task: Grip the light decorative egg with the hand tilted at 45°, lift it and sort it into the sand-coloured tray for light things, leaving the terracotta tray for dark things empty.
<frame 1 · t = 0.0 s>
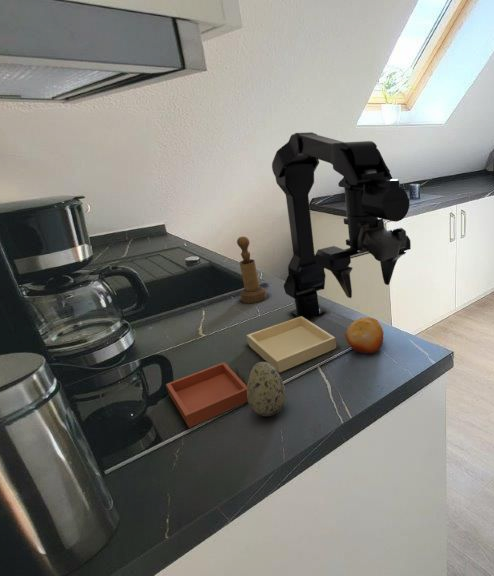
hand: (368, 290, 81), 15 cm above the counter, tool pointing down, fingers open, 9 cm apart
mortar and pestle: (254, 299, 115), on the counter
fruit: (366, 349, 88), on the counter
terracotta tray: (210, 397, 73), on the counter
sand tray: (292, 346, 90), on the counter
decorative egg: (270, 413, 69), on the counter
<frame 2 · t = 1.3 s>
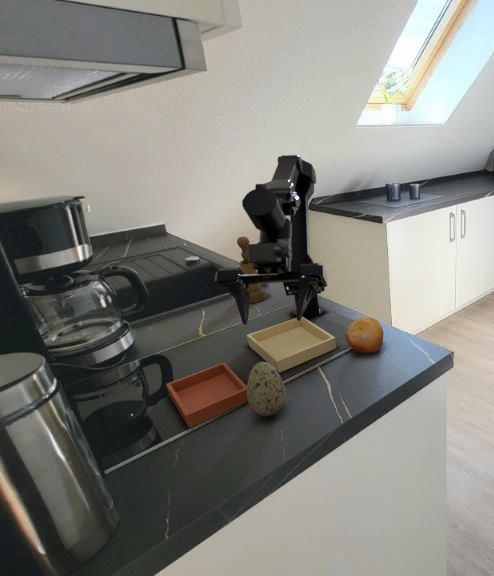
hand: (271, 322, 72), 13 cm above the counter, tool tilted 45°, fingers open, 9 cm apart
nothing on the counter moved.
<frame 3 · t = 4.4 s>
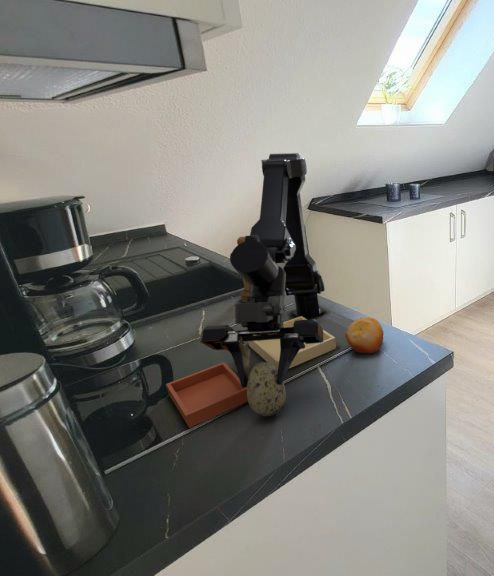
hand: (261, 385, 66), 7 cm above the counter, tool tilted 45°, fingers closed on decorative egg, 5 cm apart
decorative egg: (270, 413, 69), on the counter, touching gripper
everything else where it was.
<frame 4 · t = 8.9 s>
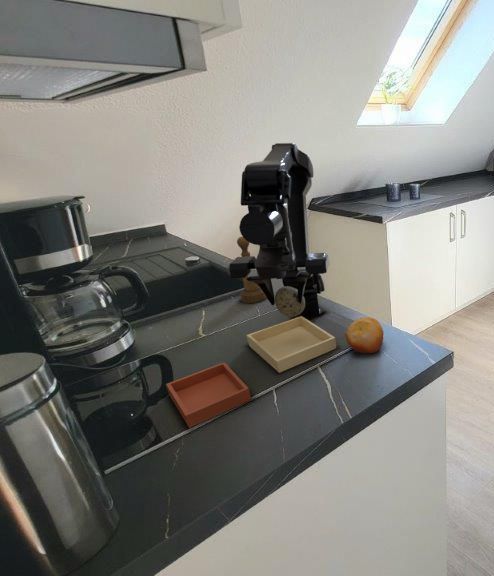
hand: (286, 303, 85), 11 cm above the counter, tool pointing down, fingers closed on decorative egg, 5 cm apart
decorative egg: (295, 309, 91), point 7 cm above the counter, touching gripper
everything else where it was.
when the fingers open (6 cm above the counter, at t = 11.0 s): decorative egg moves 4 cm, resting on sand tray.
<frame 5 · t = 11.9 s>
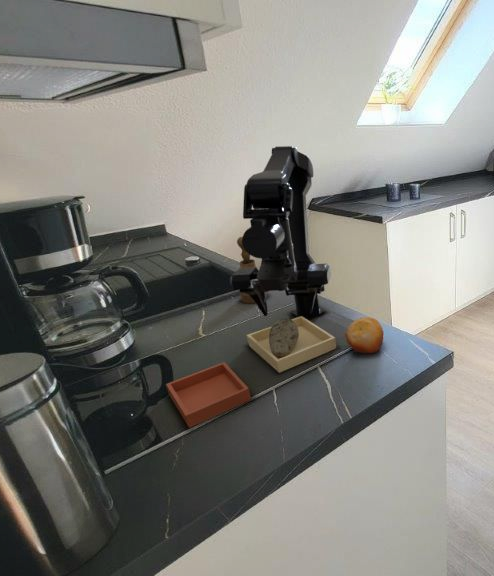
hand: (288, 313, 86), 9 cm above the counter, tool pointing down, fingers open, 9 cm apart
decorative egg: (286, 321, 90), point 5 cm above the counter, touching sand tray
everything else where it was.
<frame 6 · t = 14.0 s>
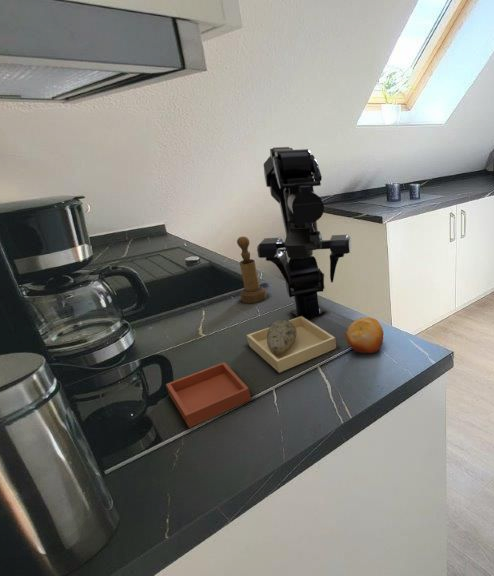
hand: (311, 283, 90), 13 cm above the counter, tool pointing down, fingers open, 9 cm apart
decorative egg: (285, 324, 91), point 4 cm above the counter, touching sand tray
everything else where it was.
at the end: decorative egg inside the target area on the sand tray (3.9 cm from its centre), point 3.8 cm above the sand tray's base; the gripper is holding nothing; decorative egg touching sand tray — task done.
